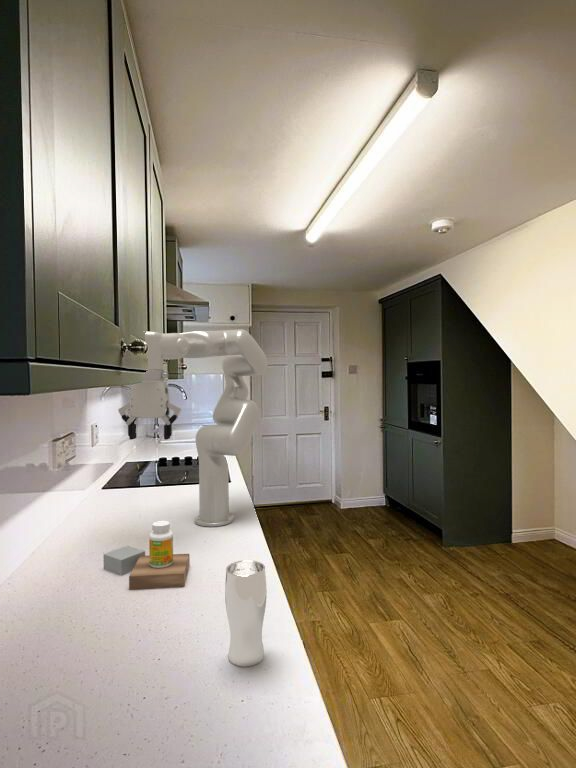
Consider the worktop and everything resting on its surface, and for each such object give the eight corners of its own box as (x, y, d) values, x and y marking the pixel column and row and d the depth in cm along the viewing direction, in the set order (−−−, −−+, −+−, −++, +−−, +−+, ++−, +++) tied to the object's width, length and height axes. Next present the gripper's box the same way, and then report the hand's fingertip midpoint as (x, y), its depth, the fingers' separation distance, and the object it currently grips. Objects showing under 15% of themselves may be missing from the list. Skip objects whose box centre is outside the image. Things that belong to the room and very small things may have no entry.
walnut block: (140, 567, 116) (140, 555, 115) (189, 565, 117) (189, 553, 117) (129, 589, 104) (129, 576, 104) (184, 586, 105) (184, 573, 105)
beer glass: (267, 643, 82) (266, 559, 82) (266, 668, 75) (266, 576, 75) (227, 644, 82) (226, 560, 82) (223, 669, 75) (222, 577, 75)
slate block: (127, 560, 121) (127, 545, 121) (145, 566, 117) (145, 551, 117) (103, 570, 115) (103, 554, 115) (121, 576, 111) (121, 560, 111)
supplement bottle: (149, 569, 107) (148, 527, 107) (149, 560, 112) (149, 520, 112) (173, 567, 108) (173, 525, 108) (172, 558, 114) (172, 518, 114)
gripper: (184, 376, 131) (184, 437, 132) (124, 377, 132) (125, 437, 133) (176, 376, 124) (176, 440, 124) (112, 377, 125) (113, 440, 125)
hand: (150, 438), depth 128 cm, fingers open, 9 cm apart
